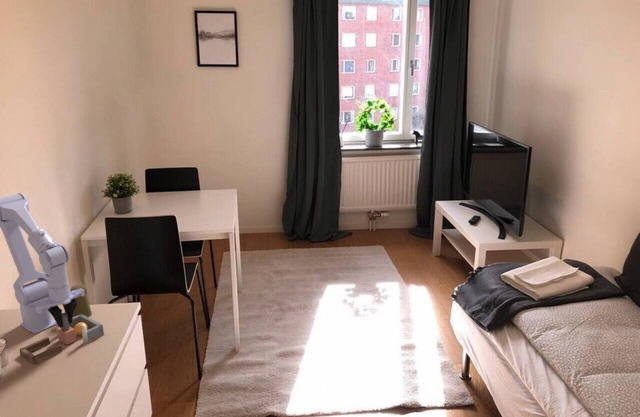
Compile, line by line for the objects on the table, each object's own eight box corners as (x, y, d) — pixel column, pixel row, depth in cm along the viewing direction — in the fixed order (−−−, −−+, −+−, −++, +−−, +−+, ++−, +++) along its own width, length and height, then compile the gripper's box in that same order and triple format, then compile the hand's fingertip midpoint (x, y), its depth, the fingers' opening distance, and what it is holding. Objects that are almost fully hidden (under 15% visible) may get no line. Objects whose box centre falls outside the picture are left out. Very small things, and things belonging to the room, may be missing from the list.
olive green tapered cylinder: (85, 320, 184) (80, 290, 180) (69, 318, 185) (64, 289, 181) (95, 311, 189) (91, 282, 186) (79, 309, 190) (75, 281, 187)
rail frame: (20, 355, 164) (19, 349, 164) (47, 342, 171) (46, 336, 170) (34, 364, 160) (33, 358, 159) (62, 351, 166) (61, 345, 166)
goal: (63, 331, 177) (60, 315, 175) (82, 322, 182) (79, 306, 180) (85, 344, 170) (82, 327, 168) (104, 334, 175) (102, 318, 173)
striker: (58, 339, 172) (54, 314, 169) (67, 335, 174) (63, 310, 171) (67, 344, 169) (63, 319, 166) (76, 340, 171) (72, 315, 168)
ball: (81, 318, 176) (84, 328, 178) (70, 325, 174) (73, 335, 175) (88, 322, 174) (91, 332, 176) (77, 329, 171) (80, 339, 173)
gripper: (41, 297, 158) (48, 338, 162) (87, 279, 169) (93, 318, 173) (29, 290, 162) (36, 331, 166) (75, 273, 173) (81, 311, 177)
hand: (64, 324), depth 170 cm, fingers closed on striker, 2 cm apart
